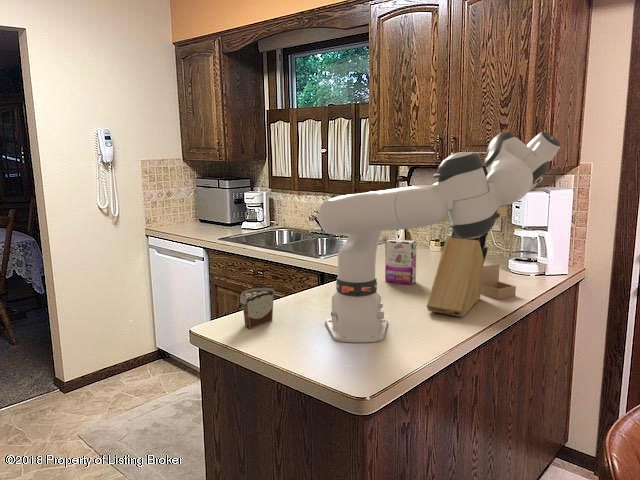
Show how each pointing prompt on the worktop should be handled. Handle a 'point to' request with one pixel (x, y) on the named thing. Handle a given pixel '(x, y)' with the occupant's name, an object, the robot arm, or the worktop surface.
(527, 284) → the worktop surface
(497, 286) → the carton
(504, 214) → the tea tin
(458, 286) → the knife block
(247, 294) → the food container
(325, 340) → the worktop surface
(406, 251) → the candy bar box
